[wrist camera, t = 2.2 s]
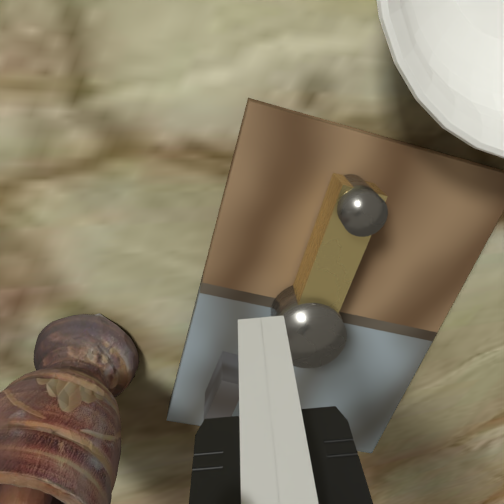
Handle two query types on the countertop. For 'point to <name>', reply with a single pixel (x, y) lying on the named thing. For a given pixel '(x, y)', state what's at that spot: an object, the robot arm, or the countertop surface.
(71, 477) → the mortar and pestle
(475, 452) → the countertop surface
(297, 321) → the swing bar
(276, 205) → the board
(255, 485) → the robot arm
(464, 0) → the bowl
